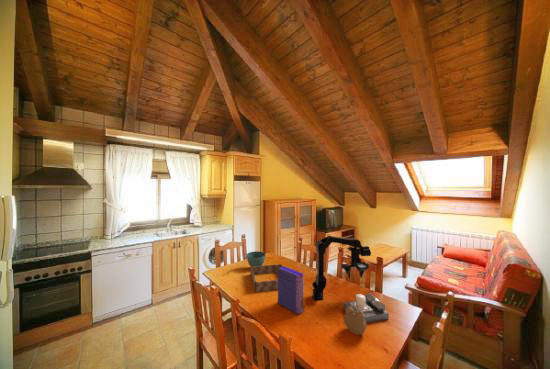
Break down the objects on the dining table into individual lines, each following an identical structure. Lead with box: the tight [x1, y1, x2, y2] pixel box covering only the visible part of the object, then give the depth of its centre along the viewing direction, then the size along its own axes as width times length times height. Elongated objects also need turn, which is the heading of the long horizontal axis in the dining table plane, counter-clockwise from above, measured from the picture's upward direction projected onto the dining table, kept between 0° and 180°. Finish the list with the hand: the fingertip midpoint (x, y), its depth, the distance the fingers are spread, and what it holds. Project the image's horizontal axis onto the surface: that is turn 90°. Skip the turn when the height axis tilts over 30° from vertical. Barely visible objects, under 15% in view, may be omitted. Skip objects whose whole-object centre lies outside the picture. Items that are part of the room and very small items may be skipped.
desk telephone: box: [342, 292, 390, 324], centre depth 127 cm, size 20×16×9 cm
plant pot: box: [246, 250, 267, 267], centre depth 197 cm, size 18×18×12 cm
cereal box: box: [277, 265, 304, 315], centre depth 134 cm, size 17×5×24 cm, turn 45°
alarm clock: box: [343, 305, 368, 336], centre depth 110 cm, size 11×5×15 cm, turn 47°
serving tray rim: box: [249, 263, 283, 293], centre depth 169 cm, size 28×30×7 cm
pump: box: [353, 293, 368, 311], centre depth 127 cm, size 6×8×7 cm
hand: (355, 278), depth 146 cm, fingers open, 9 cm apart
